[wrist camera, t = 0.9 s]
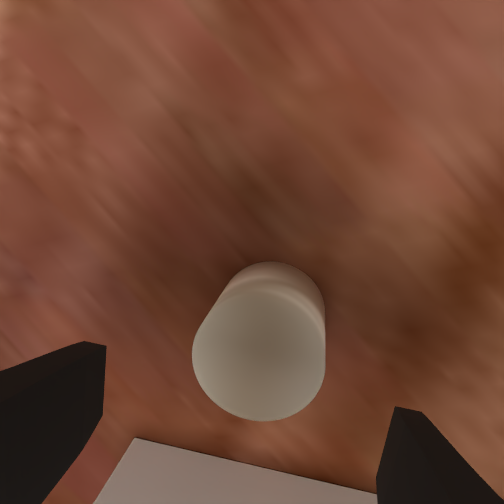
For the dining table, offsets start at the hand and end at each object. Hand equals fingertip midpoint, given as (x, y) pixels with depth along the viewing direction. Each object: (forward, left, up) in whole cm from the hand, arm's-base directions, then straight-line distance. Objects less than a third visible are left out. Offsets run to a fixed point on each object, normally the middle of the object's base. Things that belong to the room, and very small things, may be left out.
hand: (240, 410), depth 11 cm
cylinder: (0, 0, -7) cm, 7 cm away
